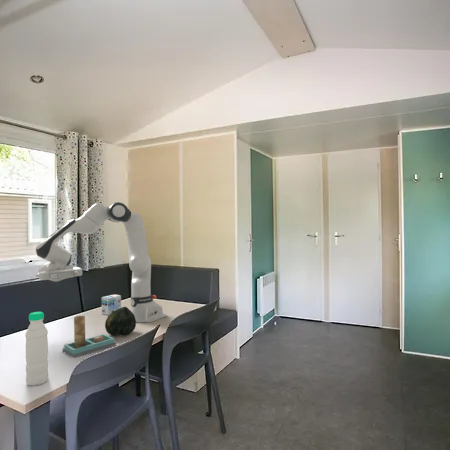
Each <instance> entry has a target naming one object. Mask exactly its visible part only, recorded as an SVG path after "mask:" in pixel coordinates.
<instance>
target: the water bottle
mask: <svg viewBox="0 0 450 450" xmlns="http://www.w3.org/2000/svg"><path fill="white" fill-rule="evenodd" d="M44 318H45V313H44V312H42V311H33V312H30V313H29V315H28V321H29V322H30V324H29V325H28V327H27V330H26V332H25V360H26V366H25V372H26V375H25V383H26V385H27V386H31V387H35V386H39V385H43V384H45V383H46V382H47V381H49V360H48V359H49V354H48V353H49V339H48V332H49V331H48V328H47V326H46V325H45V323H44V322H43V321H44Z"/></svg>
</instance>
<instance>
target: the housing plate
mask: <svg viewBox="0 0 450 450" xmlns="http://www.w3.org/2000/svg"><path fill="white" fill-rule="evenodd" d="M85 345H86V346H84V347H80V348H77V349H75V342H74V341H73V342H72V341H71V342H69V343H65V344H63V348H62V352H63V353H64V352H65V353H64V354H66V355H68V356H69V357H71V358H77V357H80V356H84V355H87V354H91V353H94V352H98V351H100V350H103V349H107V348H110V347H114V346H117V342H116V341H115V338H114V337H111V335H110V336H109V335H108V334H104V333H103V334H100V335H94V336H93V337H88V338H85Z"/></svg>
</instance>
